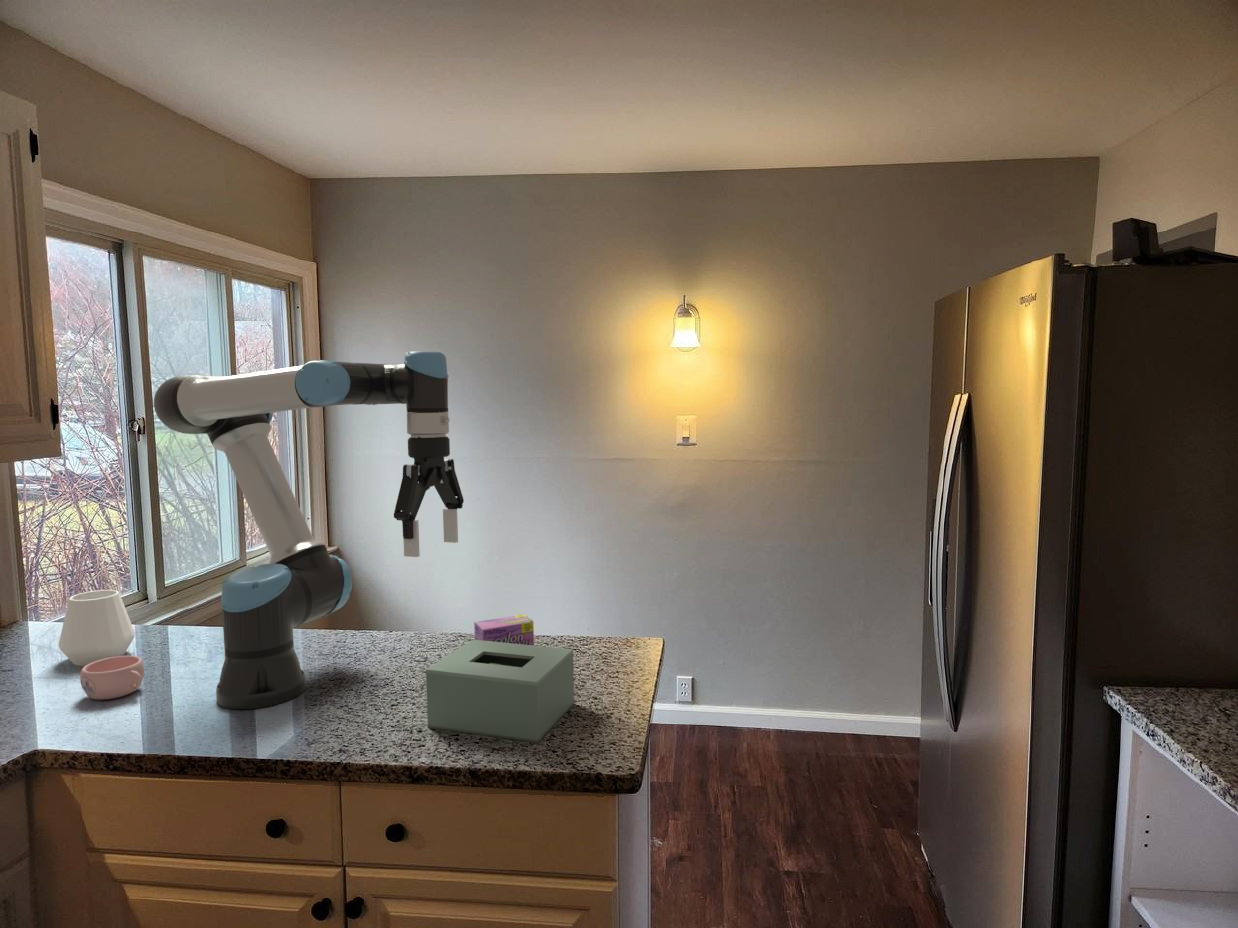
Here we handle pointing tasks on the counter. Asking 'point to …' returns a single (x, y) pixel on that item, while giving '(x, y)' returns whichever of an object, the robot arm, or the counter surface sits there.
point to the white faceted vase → (95, 627)
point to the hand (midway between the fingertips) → (432, 549)
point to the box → (506, 630)
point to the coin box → (500, 690)
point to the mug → (112, 677)
